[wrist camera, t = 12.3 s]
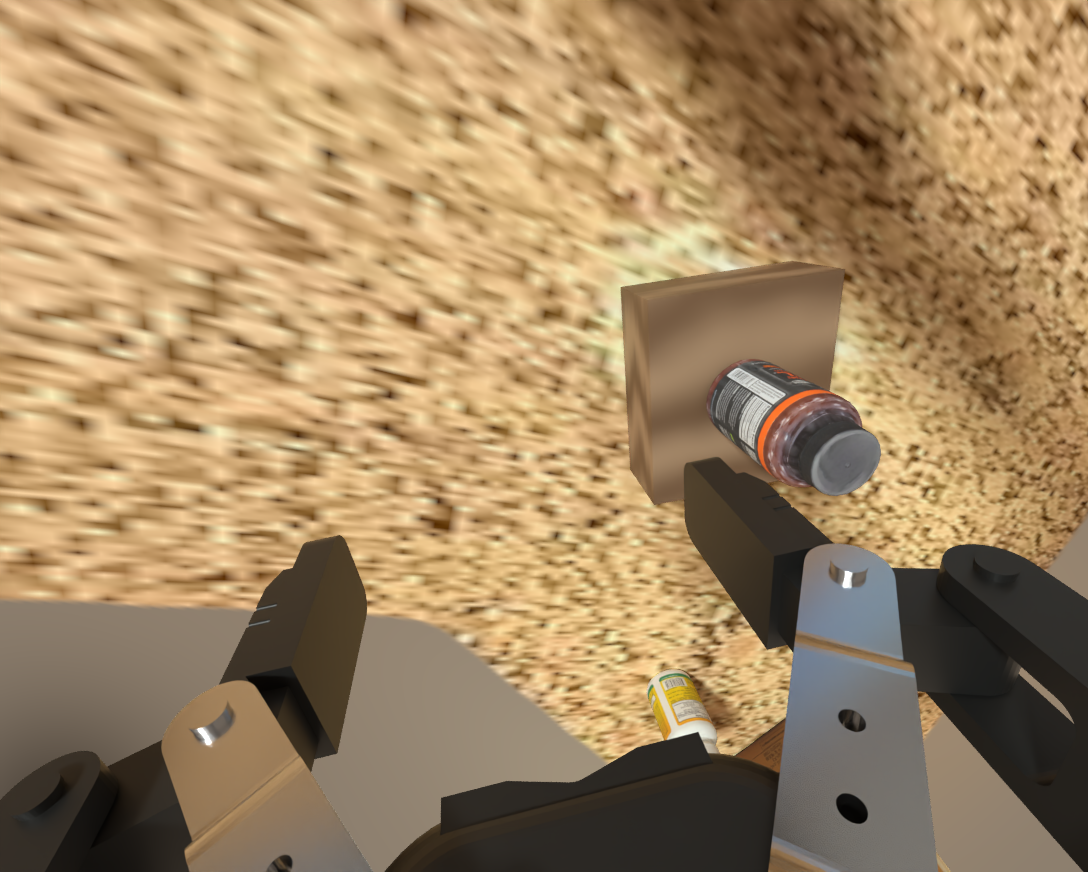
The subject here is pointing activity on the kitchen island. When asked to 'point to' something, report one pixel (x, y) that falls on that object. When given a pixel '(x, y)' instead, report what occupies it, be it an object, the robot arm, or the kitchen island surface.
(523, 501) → the kitchen island surface
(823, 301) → the walnut block
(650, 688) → the supplement bottle
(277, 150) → the kitchen island surface
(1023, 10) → the kitchen island surface
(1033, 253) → the kitchen island surface
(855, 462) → the supplement bottle
